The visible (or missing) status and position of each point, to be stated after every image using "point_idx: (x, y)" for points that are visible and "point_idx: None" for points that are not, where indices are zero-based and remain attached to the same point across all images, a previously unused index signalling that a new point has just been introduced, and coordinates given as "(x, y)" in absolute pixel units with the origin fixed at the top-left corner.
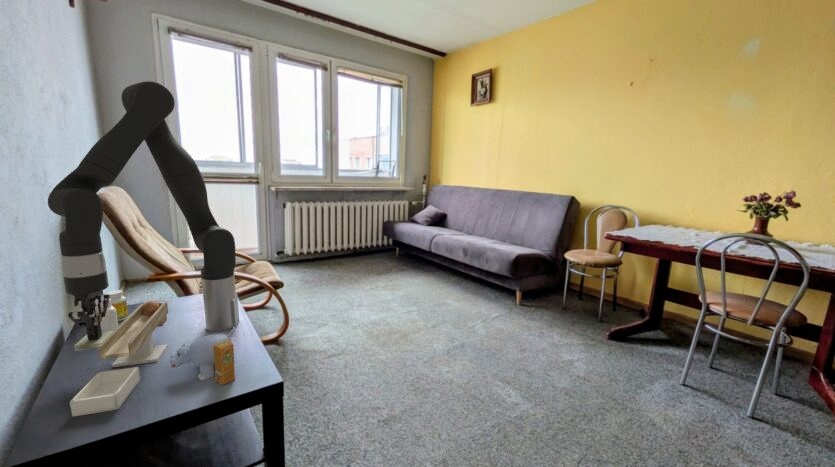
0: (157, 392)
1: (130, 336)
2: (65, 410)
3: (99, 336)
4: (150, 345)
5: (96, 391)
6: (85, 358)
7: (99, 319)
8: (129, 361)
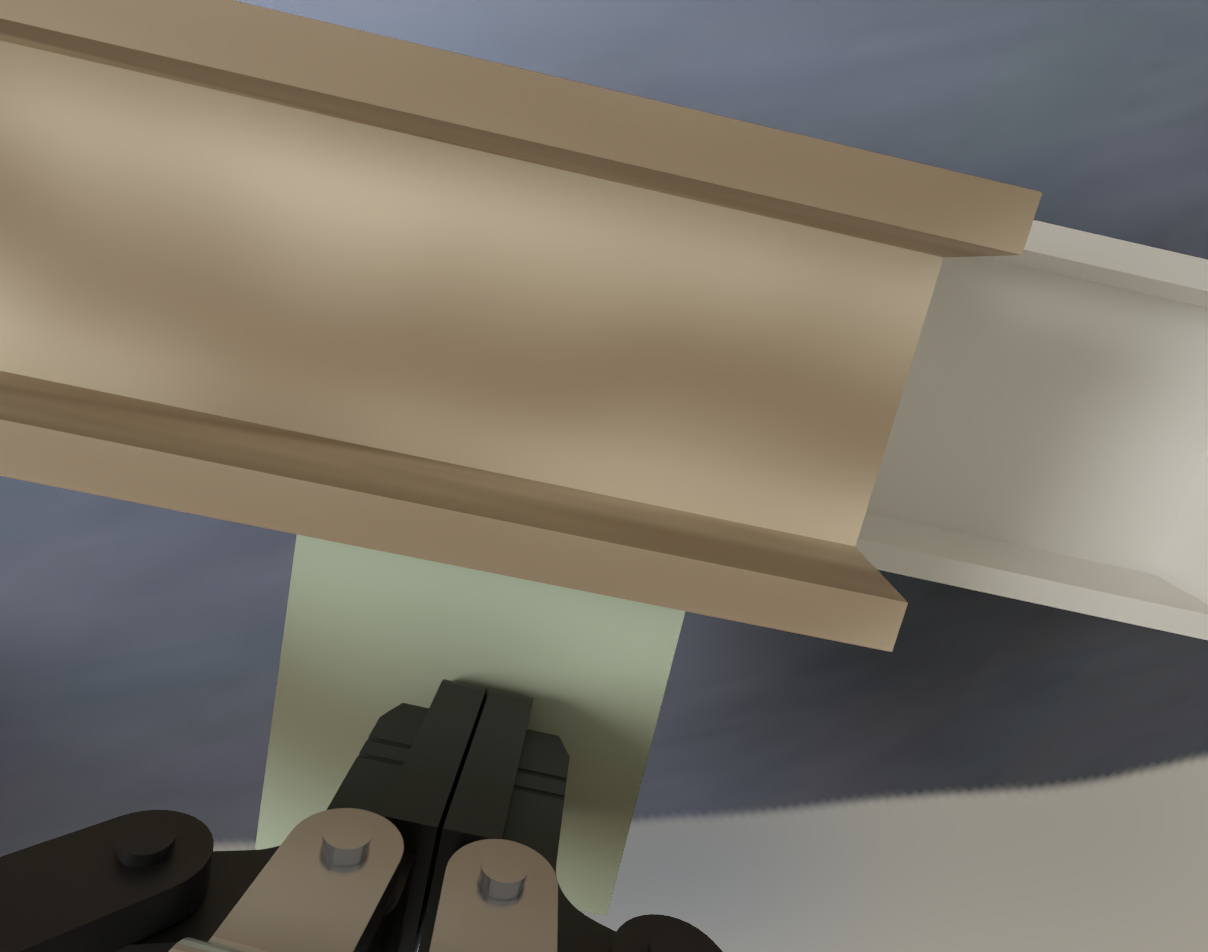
0: (1196, 12)
1: (398, 323)
2: (1027, 654)
3: (513, 701)
4: None
5: (899, 512)
6: (181, 717)
7: (383, 877)
8: None
